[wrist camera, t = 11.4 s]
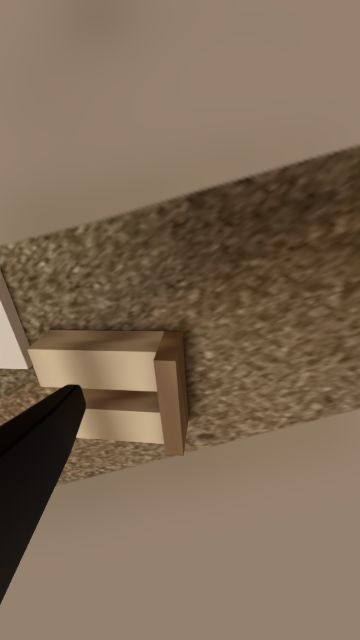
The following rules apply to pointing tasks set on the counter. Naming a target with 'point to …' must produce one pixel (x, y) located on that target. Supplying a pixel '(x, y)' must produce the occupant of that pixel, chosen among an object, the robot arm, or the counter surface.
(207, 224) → the counter surface
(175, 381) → the slot box
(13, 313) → the cover plate
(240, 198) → the counter surface
